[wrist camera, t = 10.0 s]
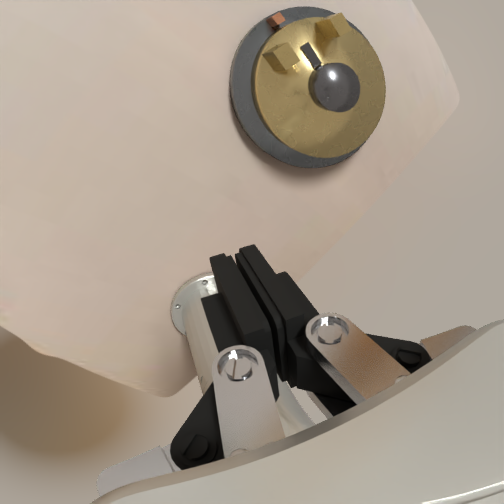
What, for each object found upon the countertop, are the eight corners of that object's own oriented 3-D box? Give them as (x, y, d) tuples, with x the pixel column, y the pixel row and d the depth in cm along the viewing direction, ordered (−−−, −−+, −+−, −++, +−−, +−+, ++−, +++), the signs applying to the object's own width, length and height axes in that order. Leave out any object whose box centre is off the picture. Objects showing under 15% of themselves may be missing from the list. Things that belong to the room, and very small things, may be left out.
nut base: (378, 153, 43) (392, 158, 40) (243, 180, 38) (252, 188, 36) (369, 15, 31) (384, 13, 28) (217, 11, 27) (224, 4, 24)
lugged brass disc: (390, 108, 38) (417, 114, 33) (302, 180, 39) (323, 194, 35) (332, 0, 28) (358, -8, 23) (219, 67, 29) (232, 62, 24)
